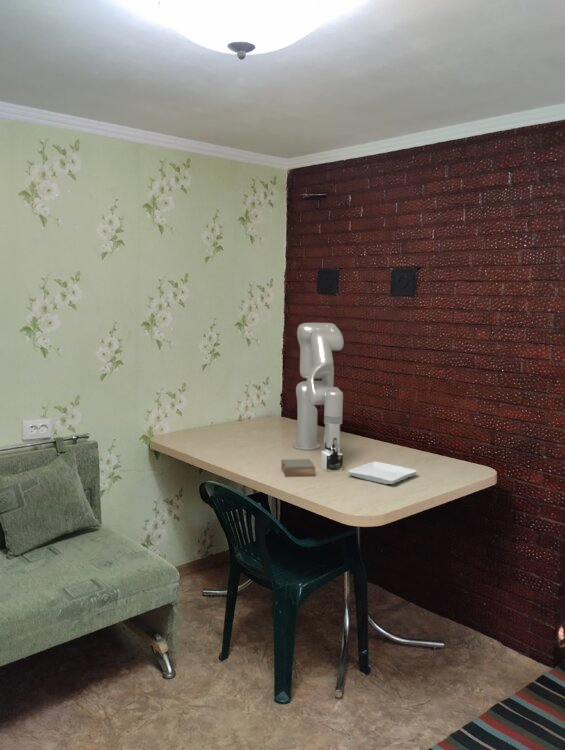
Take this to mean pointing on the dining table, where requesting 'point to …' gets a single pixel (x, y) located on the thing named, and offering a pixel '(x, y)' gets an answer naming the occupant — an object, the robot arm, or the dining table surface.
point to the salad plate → (382, 472)
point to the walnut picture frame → (297, 467)
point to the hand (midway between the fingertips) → (331, 460)
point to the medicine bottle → (326, 460)
